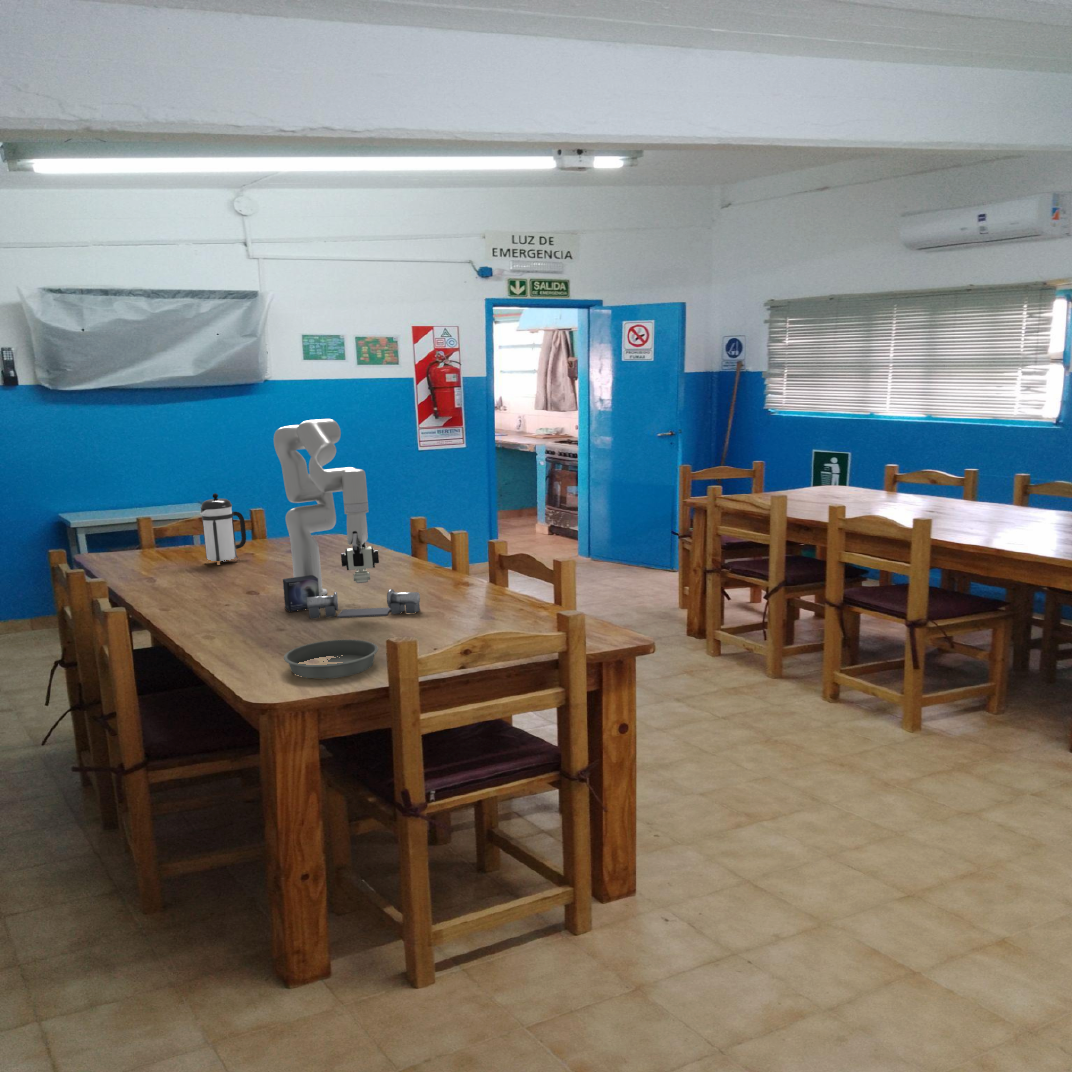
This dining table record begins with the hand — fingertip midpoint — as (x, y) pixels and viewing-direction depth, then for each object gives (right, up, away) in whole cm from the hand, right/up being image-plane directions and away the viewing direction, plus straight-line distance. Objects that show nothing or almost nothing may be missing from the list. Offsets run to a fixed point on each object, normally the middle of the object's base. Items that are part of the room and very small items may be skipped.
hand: (360, 563), depth 330 cm
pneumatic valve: (0, -6, +1) cm, 6 cm away
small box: (-22, -16, +14) cm, 30 cm away
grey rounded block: (+14, -16, +1) cm, 21 cm away
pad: (+1, -16, +3) cm, 16 cm away
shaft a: (-13, -17, +2) cm, 21 cm away
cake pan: (+2, -26, -57) cm, 62 cm away
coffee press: (-77, -3, +111) cm, 135 cm away
